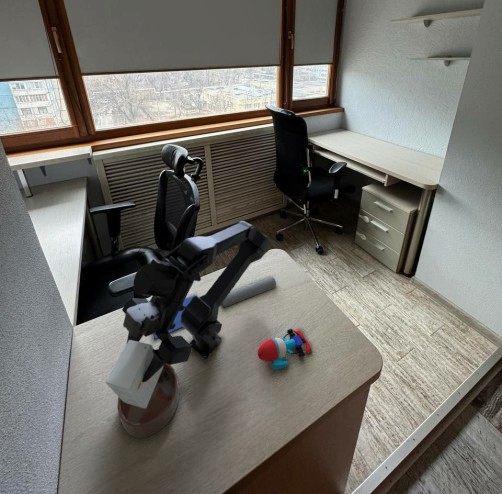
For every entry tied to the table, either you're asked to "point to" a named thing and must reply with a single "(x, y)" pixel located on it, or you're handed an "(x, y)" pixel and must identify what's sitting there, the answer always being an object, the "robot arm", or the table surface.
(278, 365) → the toy figure
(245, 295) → the gray half cylinder
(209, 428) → the table surface
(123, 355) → the small box
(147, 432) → the bowl
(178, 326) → the cloth
